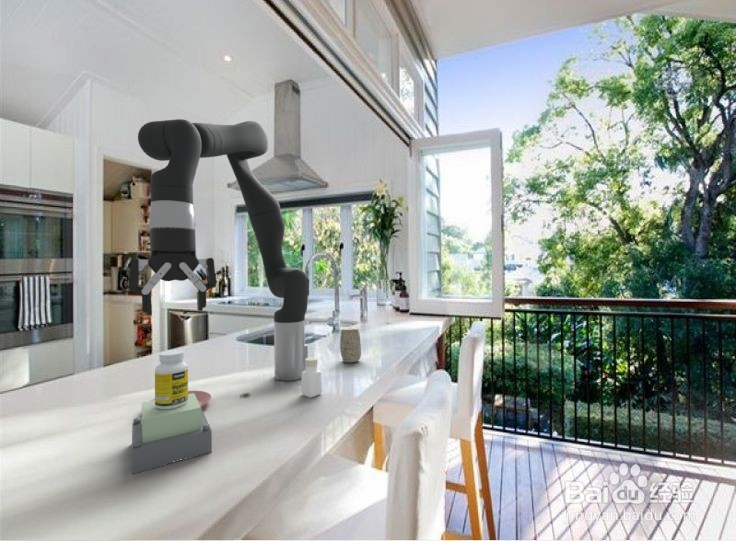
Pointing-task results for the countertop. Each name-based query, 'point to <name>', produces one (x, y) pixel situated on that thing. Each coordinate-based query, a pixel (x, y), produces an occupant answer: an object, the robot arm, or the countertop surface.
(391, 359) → the countertop surface
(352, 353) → the carving
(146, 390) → the countertop surface
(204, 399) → the plate
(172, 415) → the sponge in grey tray
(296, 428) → the countertop surface
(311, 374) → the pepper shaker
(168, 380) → the supplement bottle
